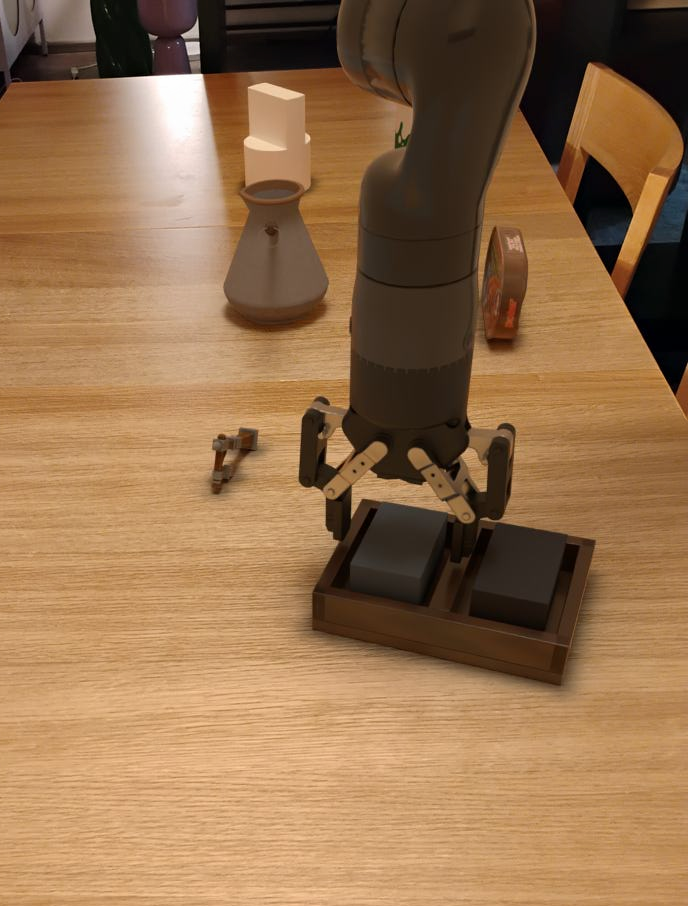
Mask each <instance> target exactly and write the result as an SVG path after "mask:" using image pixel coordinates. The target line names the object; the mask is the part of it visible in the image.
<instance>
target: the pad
mask: <svg viewBox="0 0 688 906" xmlns="http://www.w3.org/2000/svg"><path fill="white" fill-rule="evenodd" d="M381 502H382V503H381V505H380V506H379V508H378V510H377V512H376V514H375V516H374V518H373V520H372V522H371V524H370V526H369V528H368V530H367V532H366V534H365V536H364V538H363V540H362V542H361V544H360V546H359V548H358V550H357V552H356V554H355V556H354V558H353V560H352V562H351V564H350V591H353V592H357V593H362V594H367V595H372V596H376V597H381V598H386V599H391V600H395V601H400V602H405V603H410V604H414V605H419V606H423V605H424V602H425V600H426V597H427V595H428V593H429V590H430V588H431V585H432V583H433V580H434V578H435V575H436V573H437V571H438V568H439V566H440V563H441V561H442V558H443V556H444V548H445V539H446V529H447V520H448V514H449V512H447V511H441V510H435V509H430V508H423V507H418V506H413V505H407V504H401V503H396V502H390V501H385V500H382V501H381Z"/></svg>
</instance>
